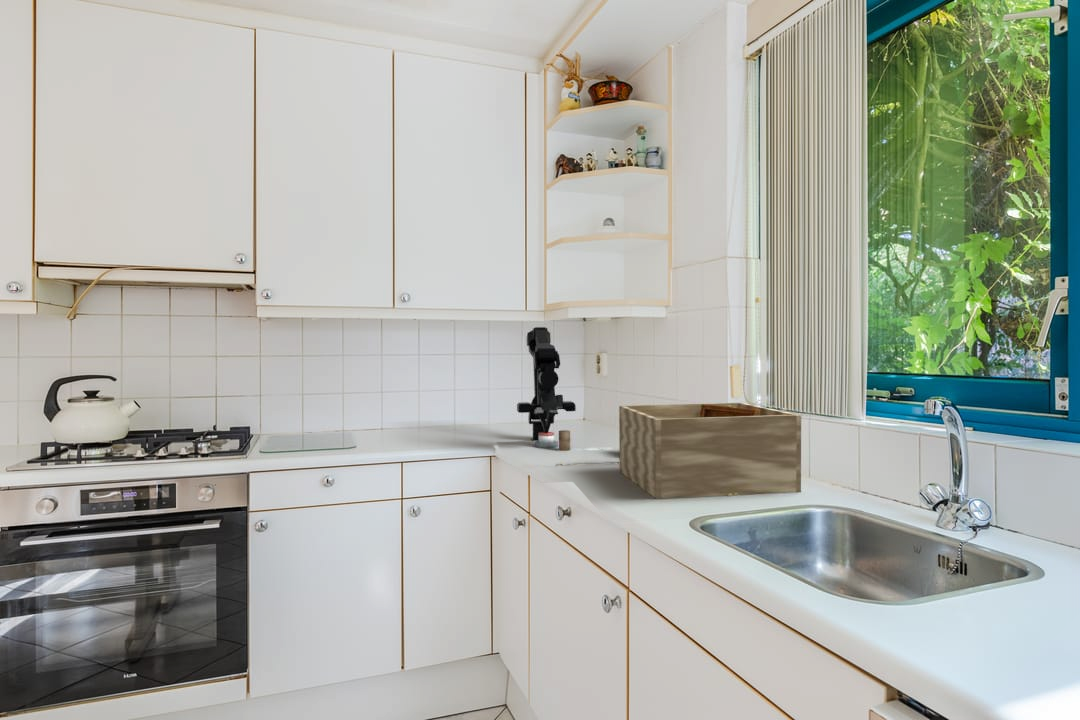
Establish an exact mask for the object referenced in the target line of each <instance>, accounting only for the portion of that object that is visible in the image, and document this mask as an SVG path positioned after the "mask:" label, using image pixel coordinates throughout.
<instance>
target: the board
mask: <svg viewBox="0 0 1080 720" xmlns="http://www.w3.org/2000/svg"><path fill="white" fill-rule="evenodd" d="M534 447H535V448H537V449H554V448H555V449H557V451H559V441H558V440H557V441H556V440H554V443H547V444H545V443H539V441H534ZM607 450H608V451H610V450H611V451H612V450H614V448H613V447H610V446H607V447H601V446H600V447H585V448H584V447H583V448H582V447H580V448H579V447H578V448H577V447H576V448H575V447H574V448H571V449H570V451H569V452H583V451H585V452H586V451H607ZM559 452H561V453H562V452H563V451H559Z"/></svg>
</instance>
